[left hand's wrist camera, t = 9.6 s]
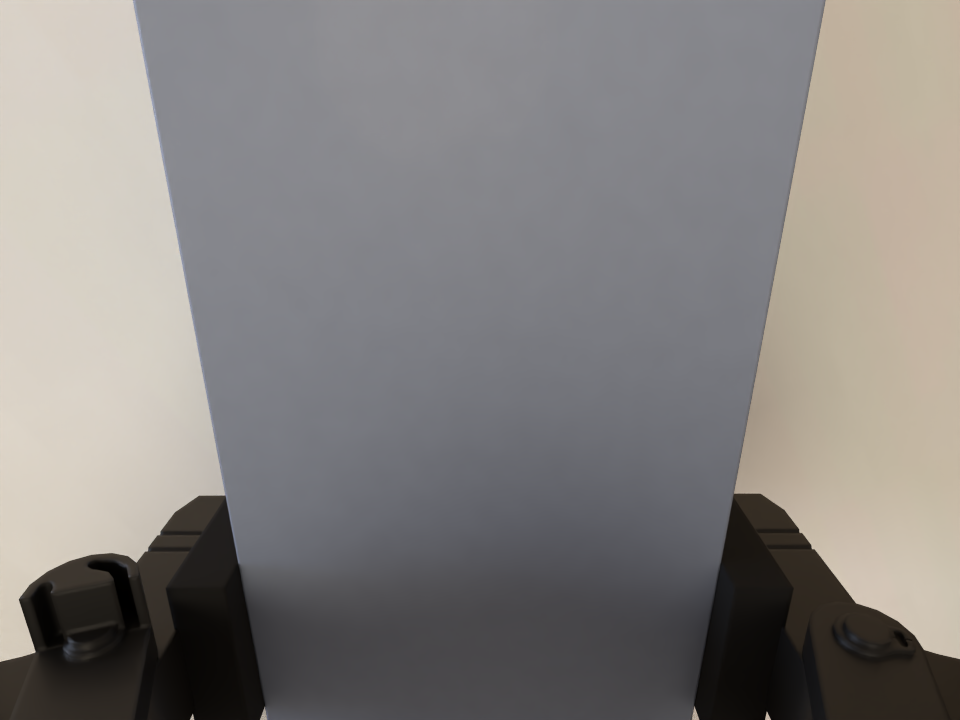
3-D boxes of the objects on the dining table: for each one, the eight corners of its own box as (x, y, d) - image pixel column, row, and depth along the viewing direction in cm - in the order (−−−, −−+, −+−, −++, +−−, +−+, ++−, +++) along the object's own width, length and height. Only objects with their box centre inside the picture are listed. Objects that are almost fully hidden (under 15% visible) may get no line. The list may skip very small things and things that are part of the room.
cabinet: (320, -265, 13) (-93, -1190, 4) (637, -265, 13) (1049, -1186, 4) (375, 468, 20) (283, 809, 11) (583, 467, 20) (676, 809, 11)
